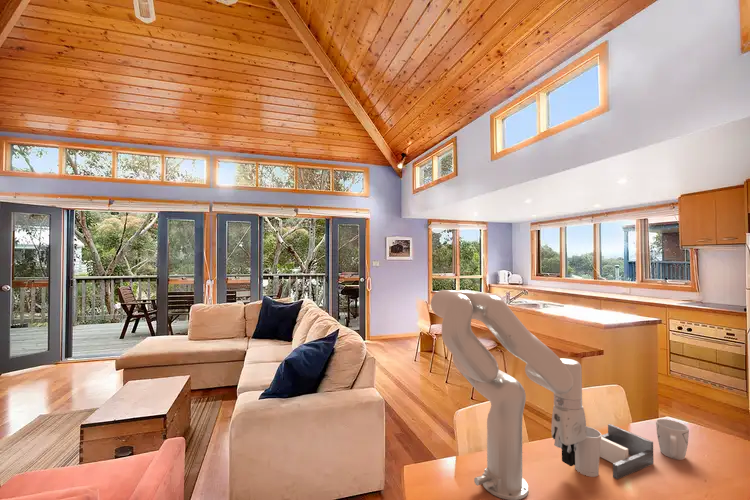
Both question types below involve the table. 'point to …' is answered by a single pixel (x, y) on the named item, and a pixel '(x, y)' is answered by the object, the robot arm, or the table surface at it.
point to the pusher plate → (612, 451)
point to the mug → (672, 438)
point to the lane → (630, 451)
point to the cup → (588, 453)
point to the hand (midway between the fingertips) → (568, 463)
